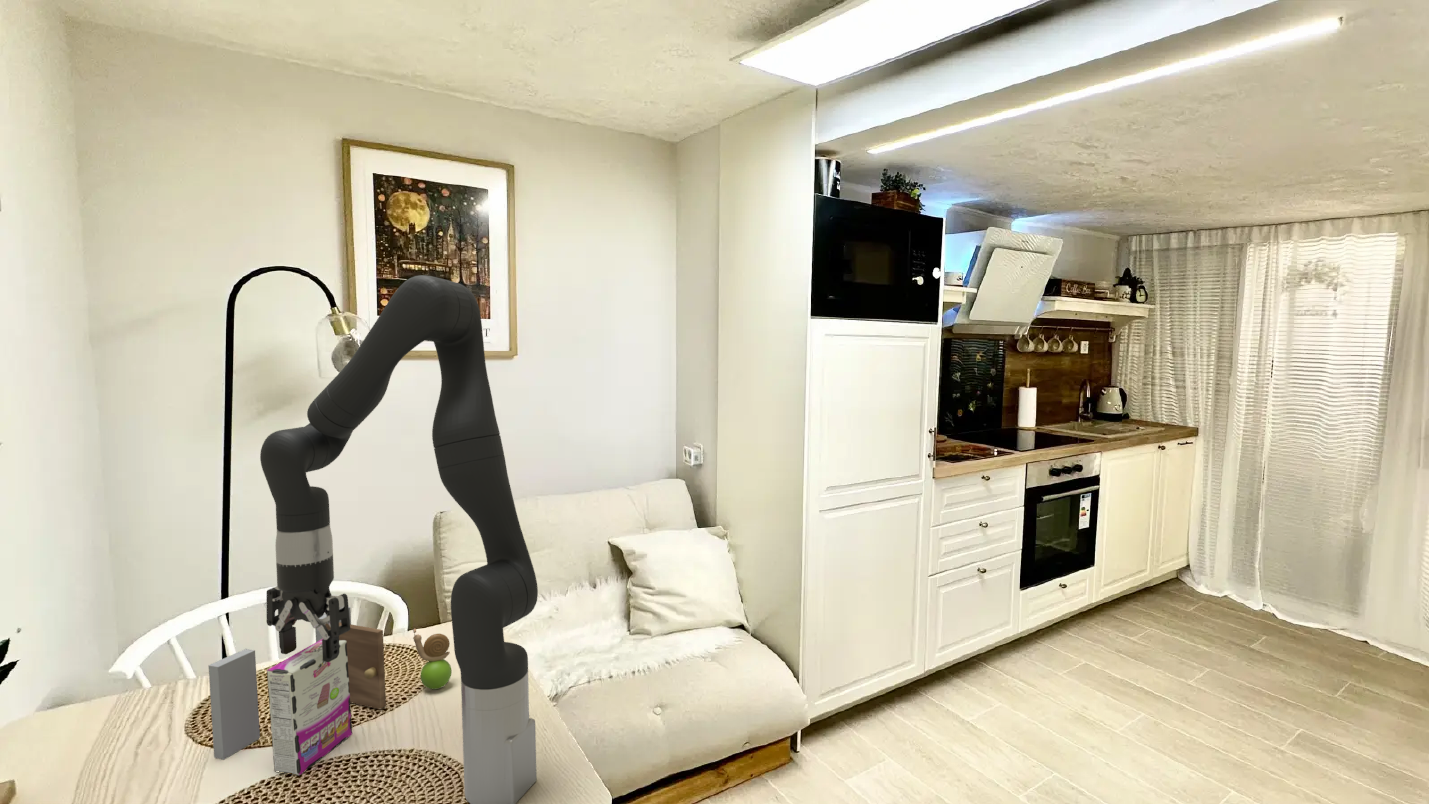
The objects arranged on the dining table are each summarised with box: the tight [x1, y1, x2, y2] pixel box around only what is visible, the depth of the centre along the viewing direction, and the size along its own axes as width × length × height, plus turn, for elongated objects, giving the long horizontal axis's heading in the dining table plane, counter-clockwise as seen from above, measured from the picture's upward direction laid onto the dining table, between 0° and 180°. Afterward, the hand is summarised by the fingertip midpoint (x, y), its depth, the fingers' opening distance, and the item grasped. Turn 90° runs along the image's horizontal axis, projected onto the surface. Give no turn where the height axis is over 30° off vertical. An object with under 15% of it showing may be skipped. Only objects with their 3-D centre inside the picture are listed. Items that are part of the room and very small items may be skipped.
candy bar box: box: [266, 639, 353, 776], centre depth 104 cm, size 11×5×16 cm, turn 168°
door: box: [325, 622, 387, 710], centre depth 119 cm, size 2×12×14 cm, turn 71°
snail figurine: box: [412, 628, 452, 690], centre depth 125 cm, size 5×6×12 cm
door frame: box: [208, 606, 352, 761], centre depth 115 cm, size 2×25×15 cm, turn 163°
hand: (309, 655), depth 104 cm, fingers open, 8 cm apart
